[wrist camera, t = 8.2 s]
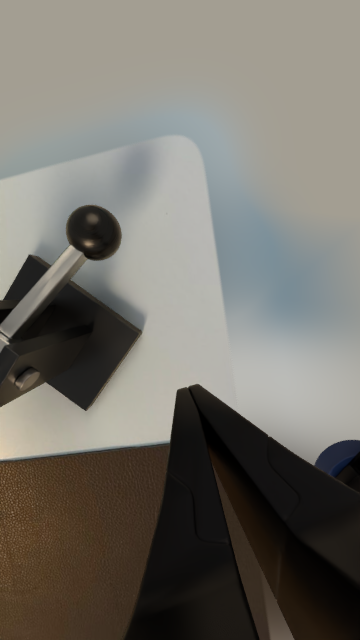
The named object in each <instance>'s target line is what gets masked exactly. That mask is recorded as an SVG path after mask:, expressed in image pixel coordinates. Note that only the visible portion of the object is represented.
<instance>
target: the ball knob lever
mask: <svg viewBox="0 0 360 640" xmlns="http://www.w3.org/2000/svg"><path fill="white" fill-rule="evenodd" d="M66 235H67V239H68V241H69V243H70V245H69V246H68V248H67V249H66V250H65V251H64V252H63V253H62V254H61V256H60V257H59V258H58V259H57V260H56V261H55V262H54V264H53V265H52V266H51V267H50V268H49V269H48V270H47V272H46V273H45V274H44V275H43V276H42V277H41V278H40V280H39V281H38V282H37V283H36V284H35V285H34V286H33V287H32V289H31V290H30V291H29V292H28V293H27V294H26V295H25V297H24V298H23V299H22V300H21V301H20V302H19V303H18V305H17V306H16V307H15V308H14V309H13V310H12V311H11V313H10V314H9V315H8V316H7V317H6V318H5V319H4V321H3V322H2V323H1V324H0V352H1V351H2V349H3V347H4V346H5V345H8V344H12V343H16V342H20V341H24V340H23V339H21V337H22V336H23V335H24V333H25V332H26V331H27V330H28V329H29V327H30V326H31V325H32V324H33V323H34V322H35V320H36V319H37V318H38V317H39V316H40V314H41V313H42V312H43V311H44V310H45V309H46V307H47V306H48V305H49V304H50V303H51V302H52V300H53V299H54V298H55V297H56V296H57V294H58V293H59V292H60V291H61V290H62V289H63V287H64V286H65V285H66V284H67V283H68V281H69V280H70V279H71V278H72V277H73V276H74V274H75V273H76V272H77V271H78V270H79V269H80V267H81V266H82V265H83V264H84V263H85V261H86V260H87V259H89V260H94V261H99V260H104V259H107V258H109V257H111V256H112V255H114V254H115V253H116V251H117V250H118V248H119V246H120V244H121V238H122V234H121V228H120V225H119V223H118V221H117V219H116V218H115V217H114V215H113V214H112V213H110V212H109V211H108V210H106V209H105V208H102V207H100V206H96V205H85V206H81V207H79V208H77V209H76V210H74V211H73V212H72V214H71V215H70V216H69V218H68V221H67V224H66Z"/></svg>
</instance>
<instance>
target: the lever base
mask: <svg viewBox="0 0 360 640" xmlns="http://www.w3.org/2000/svg"><path fill="white" fill-rule="evenodd" d="M50 267H51V265H49V264H48V263H46V262H45V261H44V260H42V259H41V258H39V257H37V256H33V255H29V256H28V258H27V259H26V261H25V263H24V265H23V266H22V268H21V270H20V271H19V273H18V275H17V277H16V278H15V280H14V282H13V284H12V285H11V287H10V289H9V291H8V292H7V294H6V296H5V297H4V299H3V300H0V324H1V323H2V322H3V321H4V319H5V318H6V317H7V316H8V315H9V314H10V313H11V311H12V310H13V309H14V308H15V307H16V306H17V305H18V303H19V302H20V301H21V300H22V299H23V298H24V297H25V295H26V294H27V293H28V292H29V291H30V290H31V289H32V287H33V286H34V285H35V284H36V283H37V282H38V281H39V280H40V278H41V277H42V276H43V275H44V274H45V273H46V272H47V270H48V269H49V268H50ZM141 333H142V331H141V330H139V329H138V328H137V327H135V326H134V325H132V324H131V323H130V322H128V321H127V320H125V319H124V318H123V317H121V316H120V315H119V314H117V313H116V312H114V311H113V310H112V309H110V308H109V307H107V306H106V305H105V304H103V303H102V302H100V301H99V300H98V299H96V298H95V297H94V296H92V295H91V294H89V293H88V292H87V291H85V290H84V289H82V288H81V287H80V286H78V285H77V284H75V283H74V282H73V281H71V280H69V281H68V283H67V284H66V285H65V286H64V287H63V289H62V290H61V291H60V292H59V293H58V294H57V296H56V297H55V298H54V299H53V300H52V302H51V303H50V304H49V305H48V306H47V307H46V309H45V310H44V311H43V312H42V313H41V314H40V316H39V317H38V318H37V319H36V320H35V322H34V323H33V324H32V325H31V326H30V327H29V329H28V330H27V331H26V332H25V333H24V335H23V336H22V337H21V339H23V340H24V341H20V342H16V343H12V344H8V345H5V346H4V347H3V349H2V351H1V352H0V407H2V406H3V405H5V404H7V403H9V402H11V401H12V400H14V399H16V398H18V397H20V396H21V395H23V394H25V393H27V392H29V391H30V390H32V389H34V388H36V387H38V386H39V385H41V384H43V383H45V382H47V383H48V384H49V385H51V386H52V387H53V388H55V389H56V390H58V391H59V392H60V393H62V394H63V395H64V396H66V397H67V398H69V399H70V400H71V401H73V402H74V403H75V404H77V405H78V406H79V407H81V408H82V409H84V410H85V411H87V410H88V409H89V408H90V407H91V406H92V404H93V403H94V401H95V400H96V398H97V397H98V396H99V394H100V393H101V391H102V390H103V388H104V387H105V385H106V384H107V383H108V381H109V380H110V378H111V377H112V375H113V374H114V372H115V371H116V370H117V368H118V367H119V365H120V364H121V362H122V361H123V359H124V358H125V357H126V355H127V354H128V352H129V351H130V349H131V348H132V346H133V345H134V344H135V342H136V341H137V339H138V338H139V336H140V335H141Z"/></svg>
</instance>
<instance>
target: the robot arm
mask: <svg viewBox="0 0 360 640" xmlns="http://www.w3.org/2000/svg"><path fill="white" fill-rule="evenodd" d="M211 462H212V463H211ZM212 464H213V466H214V468H215V470H216V472H217V474H218V477H219V479H220V481H221V483H222V485H223V487H224V489H225V492H226V494H227V496H228V498H229V500H230V502H231V504H232V507H233V509H234V511H235V513H236V515H237V517H238V519H239V522H240V524H241V526H242V528H243V530H244V532H245V534H246V537H247V539H248V541H249V543H250V545H251V547H252V549H253V552H254V554H255V556H256V558H257V560H258V562H259V564H260V567H261V569H262V571H263V573H264V575H265V577H266V579H267V582H268V584H269V586H270V588H271V590H272V592H273V594H274V597H275V598H276V599H277V603H278V605H279V607H280V609H281V612H282V613H283V616H284V618H285V620H286V622H287V624H288V627H289V629H290V631H291V633H292V635H293V637H294V639H295V640H360V452H358V454H357V455H356V456H355V457H354V458H353V459H352V460H351V461H350V462H349V463H348V464H347V465H346V466H345V467H344V469H343V470H342V471H341V472H340V473H339V474H338V475H337V476H336V477H335V478H333V477H332V476H330V475H328V474H327V473H325V472H323V471H322V470H320V469H318V468H317V467H315V466H313V465H312V464H310V463H309V462H307V461H305V460H304V459H302V458H300V457H299V456H297V455H296V454H294V453H293V452H291V451H290V450H288V449H287V448H286V447H284V446H283V445H281V444H280V443H278V442H277V441H276V440H274V439H273V438H272V437H268V435H267V434H266V433H265V432H263V431H262V430H260V429H259V428H258V427H256V426H255V425H254V424H252V423H251V422H250V421H248V420H247V419H245V418H244V417H243V416H241V415H240V414H239V413H237V412H236V411H234V410H233V409H232V408H230V407H229V406H228V405H226V404H225V403H224V402H222V401H221V400H219V399H218V398H217V397H215V396H214V395H213V394H211V393H210V392H208V391H207V390H206V389H204V388H203V387H202V386H200V385H199V384H195V385H192V386H189V387H188V388H187V387H185V388H181V389H178V390H177V394H176V401H175V409H174V416H173V424H172V431H171V439H170V446H169V453H168V461H167V468H166V471H167V472H166V475H165V482H164V488H163V494H162V500H161V505H160V510H159V514H158V519H157V523H156V527H155V531H154V535H153V539H152V543H151V547H150V551H149V555H148V558H147V562H146V566H145V570H144V574H143V578H142V582H141V585H140V589H139V593H138V596H137V599H136V602H135V606H134V608H133V611H132V614H131V617H130V620H129V622H128V625H127V627H126V629H125V632H124V634H123V636H122V638H121V640H259V636H258V633H257V630H256V627H255V623H254V620H253V617H252V614H251V610H250V607H249V604H248V601H247V597H246V594H245V591H244V587H243V584H242V581H241V577H240V574H239V570H238V566H237V563H236V559H235V555H234V551H233V547H232V543H231V539H230V535H229V531H228V527H227V523H226V519H225V515H224V511H223V507H222V503H221V499H220V495H219V491H218V487H217V483H216V479H215V475H214V471H213V467H212Z"/></svg>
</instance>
